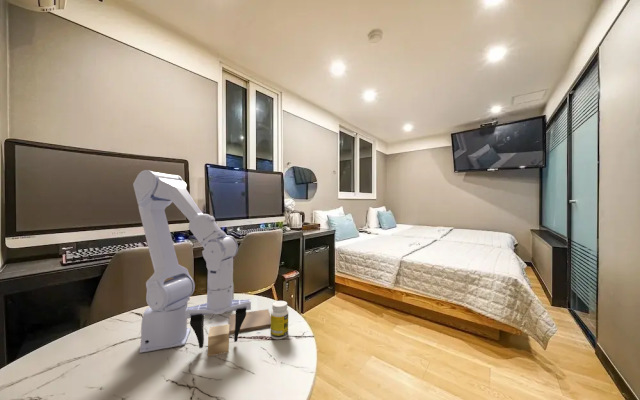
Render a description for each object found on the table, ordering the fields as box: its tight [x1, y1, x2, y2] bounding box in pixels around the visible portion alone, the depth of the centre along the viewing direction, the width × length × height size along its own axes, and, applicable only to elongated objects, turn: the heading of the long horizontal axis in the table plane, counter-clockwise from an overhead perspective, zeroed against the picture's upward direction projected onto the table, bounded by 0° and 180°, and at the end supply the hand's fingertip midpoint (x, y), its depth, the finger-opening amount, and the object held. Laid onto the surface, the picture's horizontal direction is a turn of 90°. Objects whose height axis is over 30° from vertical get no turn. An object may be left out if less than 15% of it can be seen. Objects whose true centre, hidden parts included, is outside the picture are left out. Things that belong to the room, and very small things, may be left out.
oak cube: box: [207, 323, 230, 357], centre depth 56 cm, size 4×4×4 cm
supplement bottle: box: [270, 300, 289, 340], centre depth 62 cm, size 5×5×8 cm
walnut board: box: [228, 308, 271, 335], centre depth 69 cm, size 12×10×1 cm
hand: (219, 342), depth 56 cm, fingers open, 7 cm apart
